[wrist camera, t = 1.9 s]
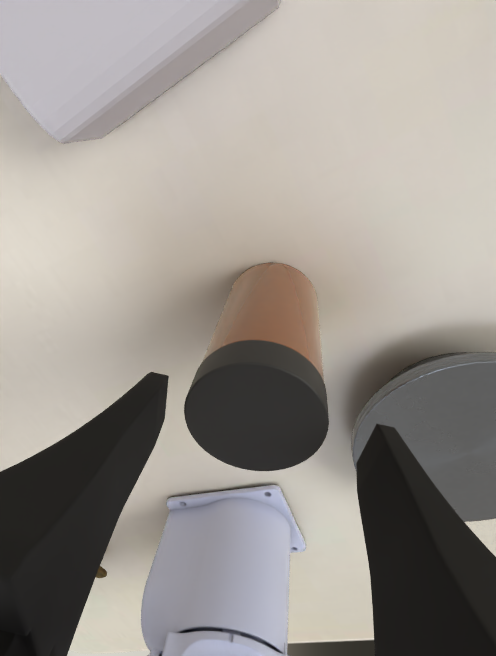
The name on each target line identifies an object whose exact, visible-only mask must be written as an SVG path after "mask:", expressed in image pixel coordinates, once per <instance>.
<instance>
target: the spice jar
mask: <svg viewBox="0 0 496 656" xmlns="http://www.w3.org/2000/svg"><path fill="white" fill-rule="evenodd" d="M184 414H185V420H186V424H187V427H188V429H189V431H190V433H191V435H192V436H193V438H194V439H195V441H196V442H197V443H198V444H199V445H200V446H201V447H202V448H203V449H204V450H205V451H206V452H208V453H209V454H210V455H212V456H213V457H215V458H217V459H218V460H220V461H222V462H224V463H227V464H229V465H232V466H235V467H238V468H242V469H247V470H254V471H274V470H281V469H286V468H289V467H292V466H295V465H297V464H300V463H301V462H303V461H305V460H307V459H308V458H309V457H311V456H312V455H313V454H314V453H315V452H316V451H317V450H318V449H319V448H320V446H321V445H322V443H323V441H324V439H325V438H326V435H327V431H328V425H329V419H328V406H327V394H326V388H325V384H324V375H323V363H322V350H321V338H320V325H319V313H318V300H317V295H316V291H315V289H314V287H313V285H312V283H311V282H310V280H309V279H308V278H307V277H306V276H305V275H304V274H303V273H301V272H300V271H299V270H297V269H295V268H293V267H291V266H289V265H285V264H281V263H263V264H259V265H256V266H253V267H251V268H249V269H248V270H246V271H245V272H243V273H242V274H241V275H240V276H239V277H238V278H237V280H236V281H235V283H234V284H233V286H232V289H231V291H230V294H229V296H228V299H227V301H226V304H225V306H224V309H223V311H222V314H221V316H220V319H219V321H218V324H217V326H216V329H215V331H214V334H213V336H212V339H211V341H210V344H209V346H208V349H207V351H206V354H205V356H204V359H203V361H202V363H201V365H200V367H199V368H198V370H197V372H196V375H195V377H194V380H193V382H192V385H191V387H190V390H189V392H188V395H187V397H186V401H185V405H184Z"/></svg>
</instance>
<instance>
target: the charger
mask: <svg viewBox="0 0 496 656" xmlns="http://www.w3.org/2000/svg"><path fill="white" fill-rule="evenodd" d="M280 1H281V0H0V74H1V76H2V77H3V79H4V80H5V81H6V83H7V84H8V86H9V87H10V88H11V90H12V91H13V93H14V94H15V95H16V97H17V98H18V99H19V101H20V102H21V103H22V105H23V106H24V107H25V109H26V110H27V111H28V112H29V114H30V115H31V116H32V117H33V118H34V119H35V120H36V122H37V123H38V124H39V125H40V126H41V127H42V128H43V129H44V130H45V131H46V132H47V133H48V134H49V135H50V136H52V137H53V138H54V139H56V140H57V141H58V142H61V143H71V142H78V141H85V140H93V139H100V138H103V137H104V136H106V135H107V134H108V133H110V132H111V131H112V130H114V129H115V128H116V127H118V126H119V125H120V124H122V123H123V122H125V121H126V120H127V119H129V118H130V117H131V116H133V115H134V114H135V113H137V112H138V111H139V110H141V109H142V108H144V107H145V106H146V105H148V104H149V103H150V102H152V101H153V100H154V99H156V98H157V97H158V96H160V95H161V94H162V93H164V92H165V91H167V90H168V89H169V88H171V87H172V86H173V85H175V84H176V83H177V82H179V81H180V80H181V79H183V78H184V77H186V76H187V75H188V74H190V73H191V72H192V71H194V70H195V69H196V68H198V67H199V66H200V65H202V64H203V63H204V62H206V61H207V60H209V59H210V58H211V57H213V56H214V55H215V54H217V53H218V52H219V51H221V50H222V49H223V48H225V47H226V46H227V45H229V44H230V43H232V42H233V41H234V40H236V39H237V38H238V37H240V36H241V35H242V34H244V33H245V32H246V31H248V30H249V29H251V28H252V27H253V26H255V25H256V24H257V23H259V22H260V21H261V20H263V19H264V18H265V17H267V16H268V15H269V14H271V13H272V12H274V11H275V10H276V9H278V8H279V5H280Z"/></svg>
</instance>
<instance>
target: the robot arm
mask: <svg viewBox="0 0 496 656" xmlns="http://www.w3.org/2000/svg"><path fill="white" fill-rule="evenodd" d="M168 377H169V376H167V375H162V374H158V373H154V372H150V373H148V374H147V375H146V376H145V377H144V378H143V379H142V380H140V381H139V382H138V383H137V384H136V385H135V386H134V387H133V388H131V389H130V390H129V391H128V392H127V393H126V394H124V395H123V396H122V397H121V398H119V399H118V400H117V401H116V402H114V403H113V404H112V405H111V406H109V407H108V408H107V409H106V410H104V411H103V412H102V413H100V414H99V415H98V416H96V417H95V418H93V419H92V420H91V421H89V422H88V423H86V424H85V425H84V426H82V427H81V428H79V429H78V430H76V431H75V432H73V433H71V434H70V435H68V436H67V437H65V438H63V439H62V440H60V441H59V442H57V443H55V444H54V445H52V446H50V447H48V448H46V449H45V450H43V451H41V452H39V453H37V454H36V455H34V456H32V457H30V458H28V459H26V460H24V461H22V462H20V463H18V464H16V465H14V466H12V467H10V468H8V469H5V470H3V471H1V472H0V656H67V654H68V651H69V648H70V645H71V642H72V639H73V637H74V634H75V631H76V628H77V625H78V623H79V620H80V617H81V614H82V612H83V609H84V606H85V604H86V601H87V598H88V595H89V593H90V590H91V587H92V585H93V582H94V579H95V577H96V574H97V572H98V569H99V566H100V564H101V561H102V559H103V556H104V553H105V551H106V548H107V546H108V543H109V541H110V538H111V536H112V533H113V531H114V528H115V526H116V523H117V521H118V518H119V516H120V514H121V512H122V510H123V507H124V505H125V503H126V501H127V499H128V497H129V495H130V493H131V491H132V489H133V488H134V486H135V484H136V482H137V480H138V478H139V476H140V474H141V472H142V470H143V468H144V466H145V464H146V462H147V460H148V458H149V456H150V454H151V452H152V450H153V448H154V446H155V444H156V441H157V438H158V436H159V433H160V430H161V428H162V425H163V422H164V419H165V409H166V398H167V387H168ZM356 468H357V493H358V500H359V506H360V513H361V519H362V525H363V531H364V537H365V543H366V549H367V555H368V561H369V568H370V576H371V590H372V604H373V622H374V642H375V656H496V557H495V556H494V555H493V554H492V553H491V552H490V551H489V550H488V548H487V547H486V546H485V545H484V544H483V543H482V542H481V541H480V540H479V538H478V537H477V536H476V535H475V534H474V533H473V532H472V531H471V530H470V528H469V527H468V526H467V525H466V524H465V523H464V521H463V520H462V519H461V518H460V517H459V515H458V514H457V513H456V512H455V510H454V509H453V508H452V507H451V505H450V504H449V503H448V502H447V500H446V499H445V498H444V497H443V495H442V494H441V493H440V491H439V490H438V489H437V487H436V486H435V485H434V483H433V482H432V480H431V479H430V478H429V476H428V475H427V474H426V472H425V471H424V469H423V468H422V466H421V465H420V464H419V462H418V461H417V459H416V458H415V456H414V455H413V453H412V452H411V451H410V449H409V448H408V446H407V445H406V443H405V442H404V440H403V439H402V437H401V436H400V434H399V433H398V432H397V430H396V429H395V427H390V426H386V425H381V424H376V426H375V428H374V430H373V432H372V434H371V436H370V437H369V439H368V441H367V443H366V445H365V447H364V449H363V451H362V453H361V455H360V457H359V459H358V461H357V463H356ZM166 505H167V507H168V508H169V510H170V512H169V515H168V518H167V521H166V524H165V527H164V530H163V533H162V536H161V539H160V542H159V545H158V548H157V551H156V554H155V557H154V560H153V563H152V566H151V569H150V572H149V575H148V578H147V581H146V585H145V589H144V593H143V599H142V608H141V627H142V633H143V637H144V640H145V643H146V645H147V647H148V649H149V650H150V654H149V655H148V656H289V655H287V640H288V604H289V569H290V553H291V552H303V551H305V550H306V543H305V541H304V539H303V537H302V534H301V532H300V530H299V528H298V526H297V523H296V521H295V519H294V517H293V515H292V512H291V510H290V508H289V506H288V504H287V501H286V499H285V497H284V495H283V493H282V490H281V488H280V487H279V486H277V485H268V486H260V487H252V488H244V489H235V490H227V491H219V492H211V493H203V494H195V495H186V496H178V497H171V498H168V500H167V502H166Z"/></svg>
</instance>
